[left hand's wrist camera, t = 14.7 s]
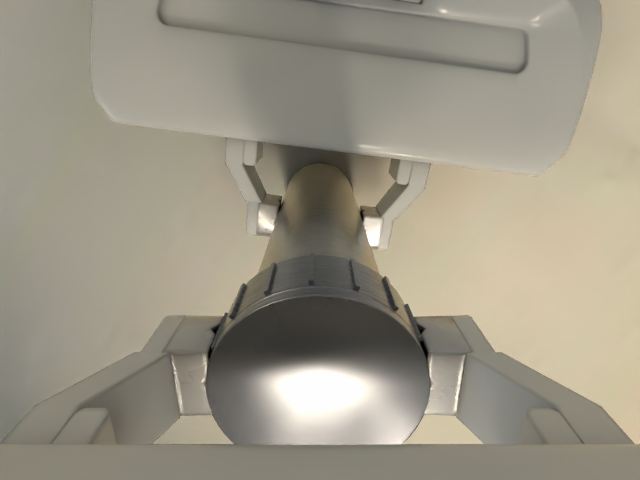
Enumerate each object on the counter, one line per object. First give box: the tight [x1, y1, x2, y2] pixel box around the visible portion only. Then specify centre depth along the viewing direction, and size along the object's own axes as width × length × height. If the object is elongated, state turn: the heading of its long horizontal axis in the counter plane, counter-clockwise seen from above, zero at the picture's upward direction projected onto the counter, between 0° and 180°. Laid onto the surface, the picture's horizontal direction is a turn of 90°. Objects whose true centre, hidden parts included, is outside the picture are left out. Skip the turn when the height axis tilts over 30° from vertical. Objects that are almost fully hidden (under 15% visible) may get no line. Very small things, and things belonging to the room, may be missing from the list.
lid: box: [205, 253, 431, 444], centre depth 9 cm, size 5×5×2 cm
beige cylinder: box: [259, 163, 379, 274], centre depth 17 cm, size 4×4×17 cm
